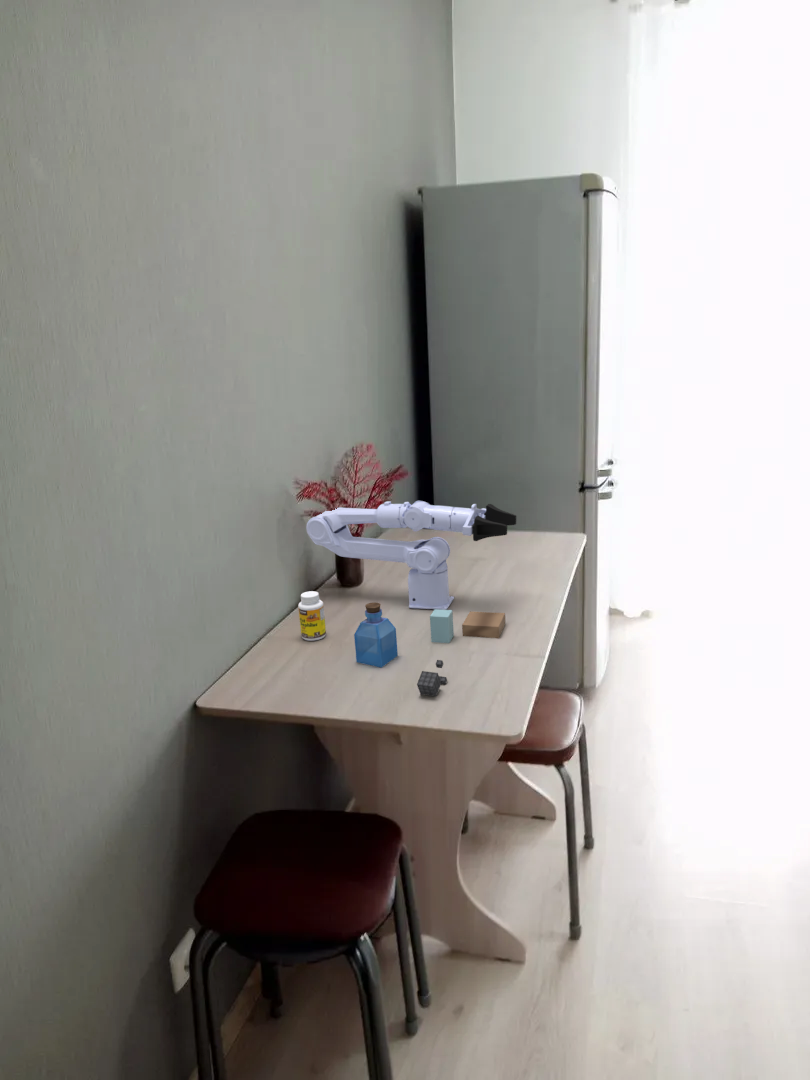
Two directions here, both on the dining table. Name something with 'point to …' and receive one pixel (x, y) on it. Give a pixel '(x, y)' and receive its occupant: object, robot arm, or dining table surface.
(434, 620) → the teal block
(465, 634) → the walnut base block
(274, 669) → the dining table surface
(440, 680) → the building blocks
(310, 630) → the supplement bottle
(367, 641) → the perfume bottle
